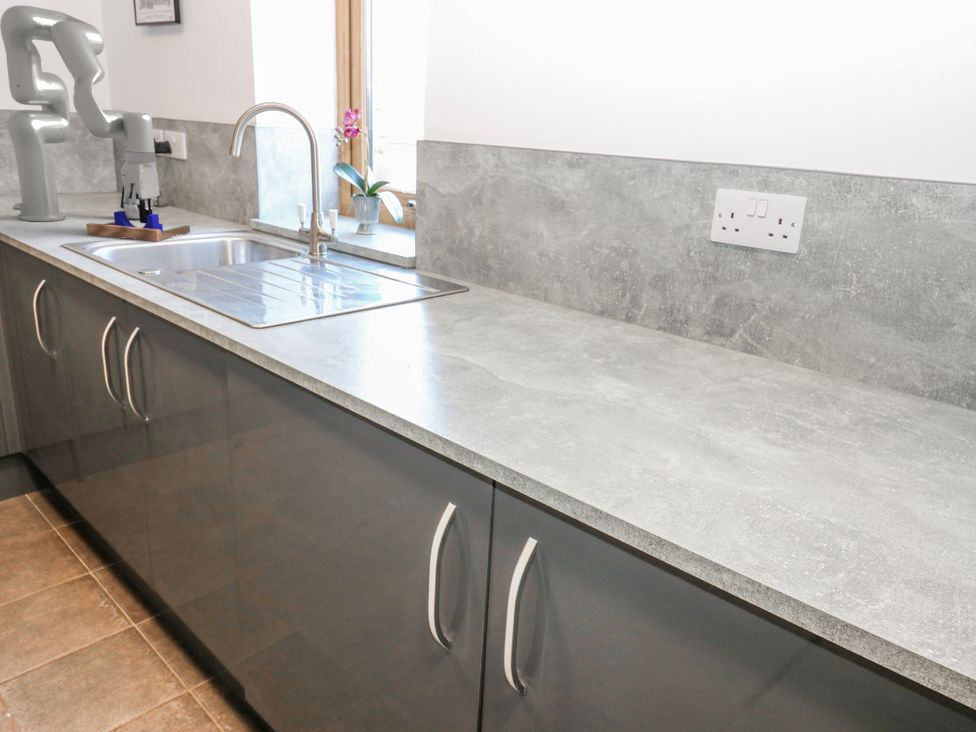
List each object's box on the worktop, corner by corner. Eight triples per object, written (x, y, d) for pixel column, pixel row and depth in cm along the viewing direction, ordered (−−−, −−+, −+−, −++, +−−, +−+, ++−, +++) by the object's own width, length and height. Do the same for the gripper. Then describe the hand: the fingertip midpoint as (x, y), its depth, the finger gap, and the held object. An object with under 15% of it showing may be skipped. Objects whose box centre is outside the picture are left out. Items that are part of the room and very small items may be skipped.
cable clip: (163, 234, 216) (161, 213, 214) (154, 236, 212) (151, 215, 210) (126, 230, 218) (123, 209, 216) (116, 233, 214) (113, 212, 212)
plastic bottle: (120, 218, 237) (114, 153, 230) (140, 217, 242) (134, 153, 236) (131, 221, 233) (125, 155, 227) (151, 219, 239) (146, 155, 232)
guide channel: (87, 234, 208) (86, 223, 207) (124, 226, 224) (123, 216, 223) (157, 241, 205) (156, 230, 204) (190, 232, 221) (189, 222, 220)
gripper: (143, 156, 218) (149, 218, 224) (112, 158, 204) (119, 225, 210) (167, 157, 217) (172, 220, 223) (137, 160, 203) (143, 227, 209)
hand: (146, 222), depth 217 cm, fingers closed
